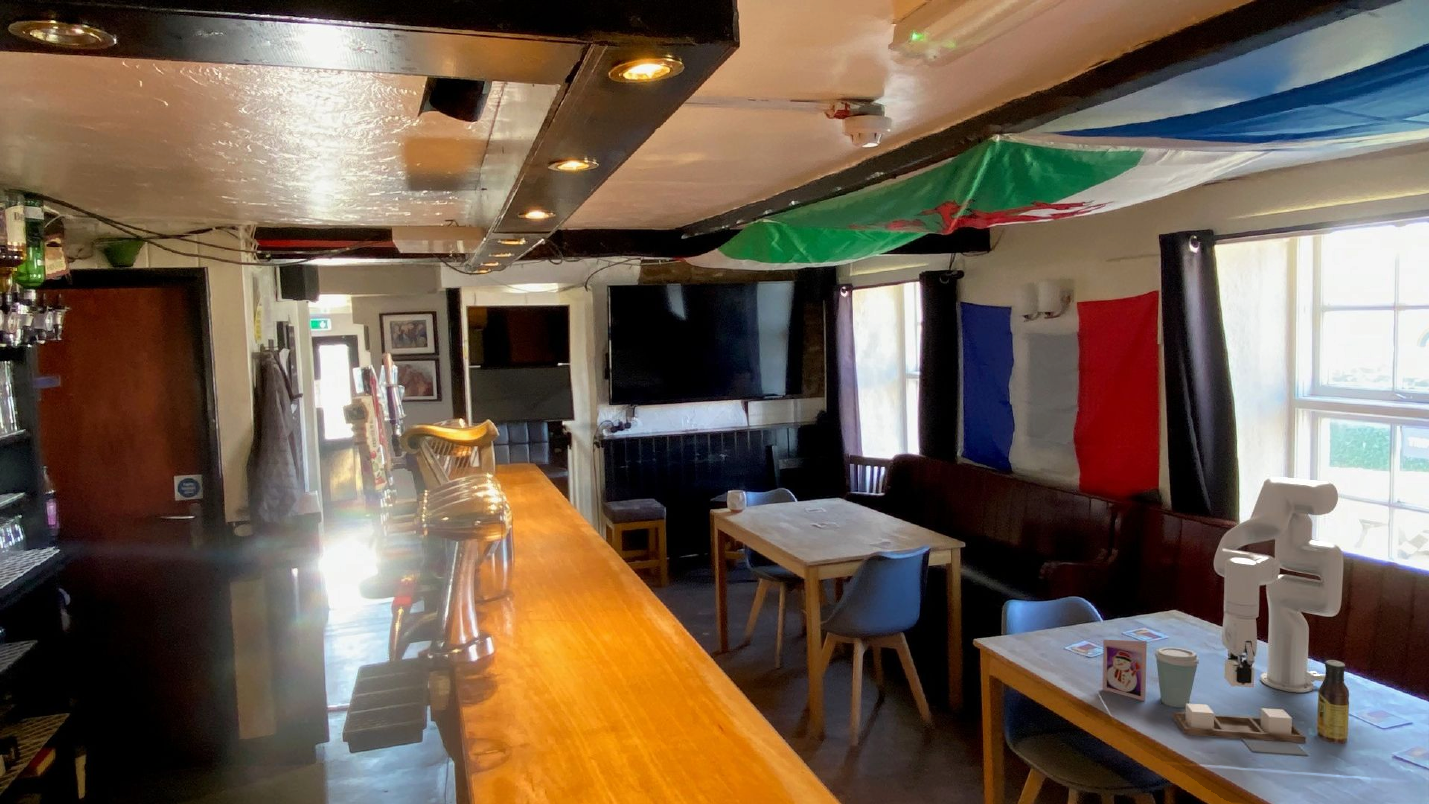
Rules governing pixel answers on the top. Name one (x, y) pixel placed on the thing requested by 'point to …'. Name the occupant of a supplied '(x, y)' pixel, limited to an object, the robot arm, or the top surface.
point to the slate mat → (1274, 747)
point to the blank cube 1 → (1199, 716)
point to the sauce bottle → (1333, 704)
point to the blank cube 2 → (1275, 721)
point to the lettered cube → (1235, 674)
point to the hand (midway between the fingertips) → (1239, 677)
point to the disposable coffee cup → (1176, 675)
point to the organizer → (1238, 729)
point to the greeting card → (1125, 667)
